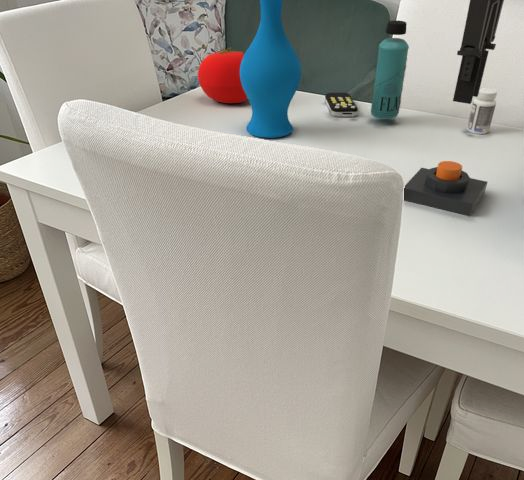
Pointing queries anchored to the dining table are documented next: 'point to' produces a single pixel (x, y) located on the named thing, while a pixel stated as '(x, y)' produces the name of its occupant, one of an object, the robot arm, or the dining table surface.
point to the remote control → (341, 104)
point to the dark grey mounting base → (445, 191)
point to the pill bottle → (482, 111)
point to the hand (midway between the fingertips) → (465, 98)
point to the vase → (270, 74)
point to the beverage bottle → (390, 73)
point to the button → (449, 170)
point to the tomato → (222, 76)
